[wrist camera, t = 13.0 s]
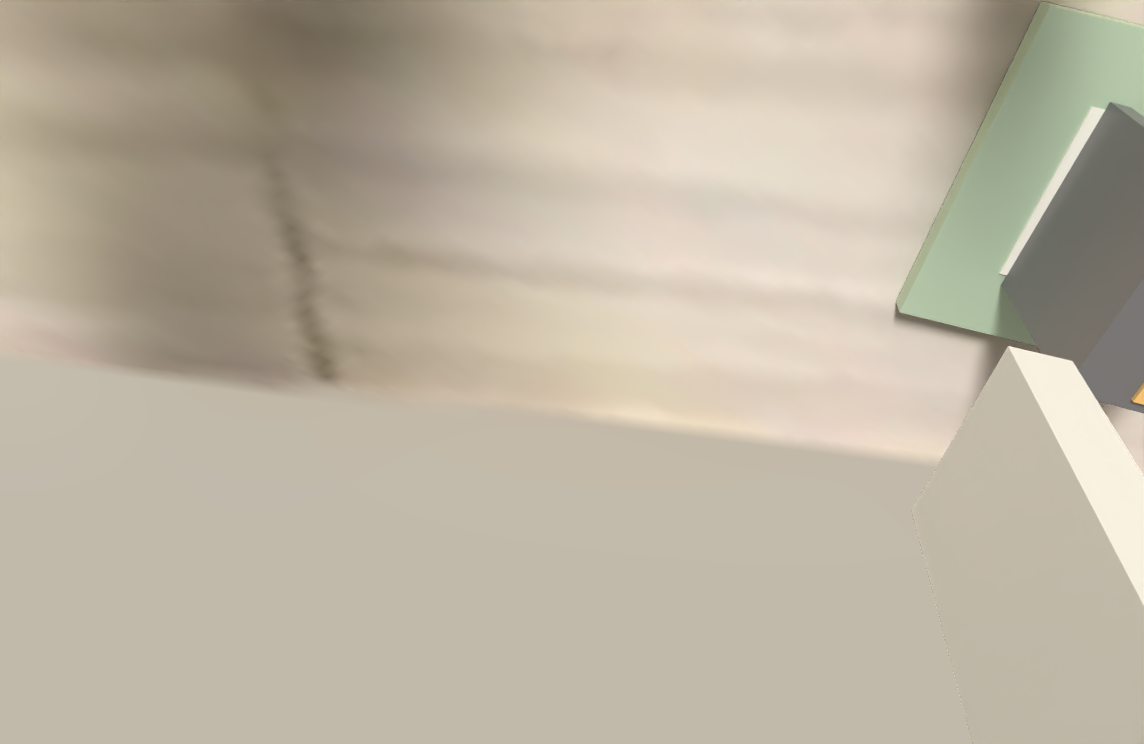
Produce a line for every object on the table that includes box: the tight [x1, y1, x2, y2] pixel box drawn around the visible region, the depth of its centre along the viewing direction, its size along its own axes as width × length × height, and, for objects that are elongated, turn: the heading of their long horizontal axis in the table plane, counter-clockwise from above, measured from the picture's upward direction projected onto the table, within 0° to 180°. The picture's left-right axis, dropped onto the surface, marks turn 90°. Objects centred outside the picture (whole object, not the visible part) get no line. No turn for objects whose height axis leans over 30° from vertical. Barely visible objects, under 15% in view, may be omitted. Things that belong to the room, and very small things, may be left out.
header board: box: [896, 1, 1144, 346], centre depth 33 cm, size 13×12×4 cm
